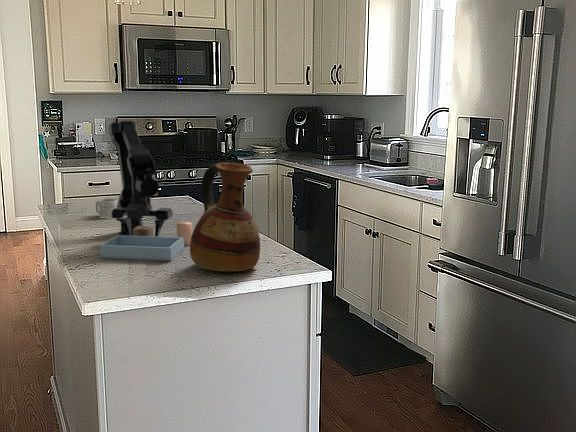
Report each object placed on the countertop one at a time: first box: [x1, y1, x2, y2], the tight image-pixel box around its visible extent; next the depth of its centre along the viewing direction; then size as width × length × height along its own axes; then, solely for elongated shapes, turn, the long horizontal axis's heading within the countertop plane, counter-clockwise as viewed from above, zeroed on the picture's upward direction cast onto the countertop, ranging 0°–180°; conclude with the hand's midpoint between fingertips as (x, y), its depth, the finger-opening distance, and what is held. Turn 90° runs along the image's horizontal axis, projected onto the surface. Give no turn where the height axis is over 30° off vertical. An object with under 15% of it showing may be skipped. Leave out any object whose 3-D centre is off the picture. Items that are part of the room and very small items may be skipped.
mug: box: [95, 198, 118, 218], centre depth 247 cm, size 10×7×7 cm, turn 58°
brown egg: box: [176, 220, 194, 247], centre depth 205 cm, size 5×5×7 cm
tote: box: [99, 234, 185, 262], centre depth 193 cm, size 22×14×4 cm, turn 83°
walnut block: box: [132, 225, 154, 236], centre depth 207 cm, size 5×5×5 cm
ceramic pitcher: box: [189, 161, 261, 273], centre depth 176 cm, size 20×20×30 cm
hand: (143, 238), depth 207 cm, fingers open, 9 cm apart
